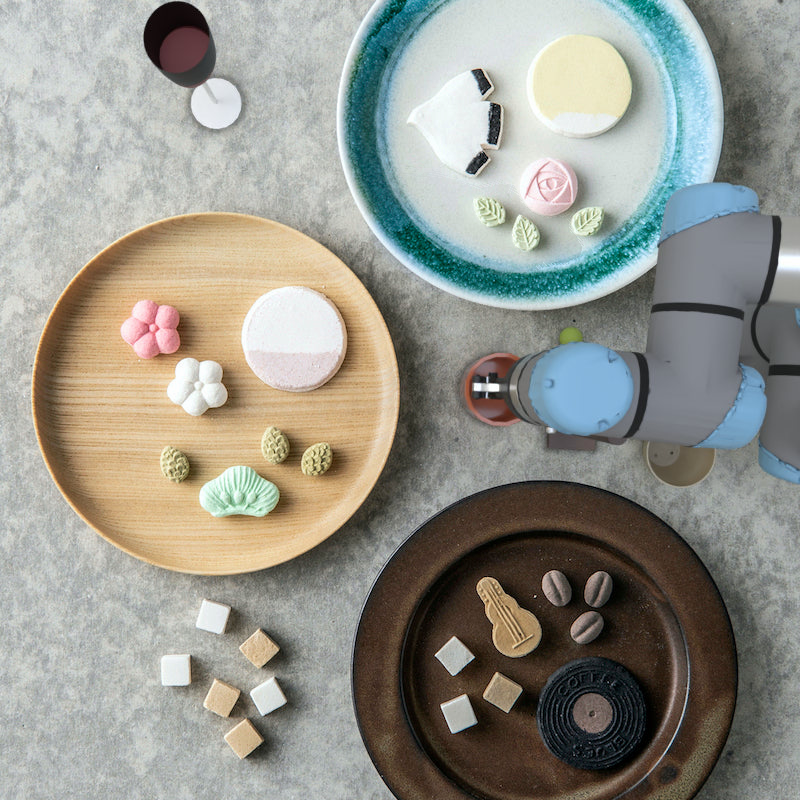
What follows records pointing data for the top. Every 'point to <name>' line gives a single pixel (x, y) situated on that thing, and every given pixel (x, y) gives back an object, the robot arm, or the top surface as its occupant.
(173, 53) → the wineglass
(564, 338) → the green grape
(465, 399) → the pink bowl
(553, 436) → the stand
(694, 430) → the robot arm
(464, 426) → the top surface
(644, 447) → the flower pot
